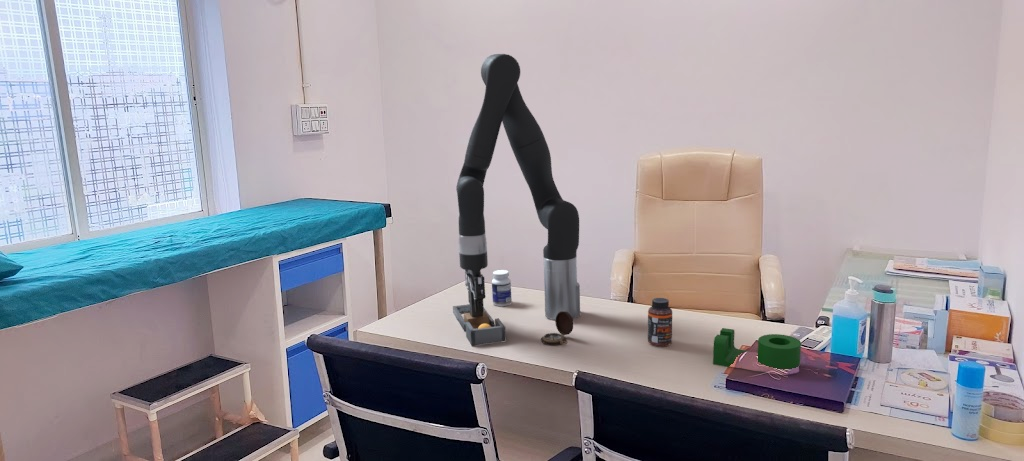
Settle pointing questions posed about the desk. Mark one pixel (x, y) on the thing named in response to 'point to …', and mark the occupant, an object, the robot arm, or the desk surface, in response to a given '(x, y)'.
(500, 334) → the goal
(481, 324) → the ball
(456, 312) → the track
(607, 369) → the desk surface
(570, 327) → the compass
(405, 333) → the desk surface
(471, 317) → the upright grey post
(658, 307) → the supplement bottle
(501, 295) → the pill bottle
